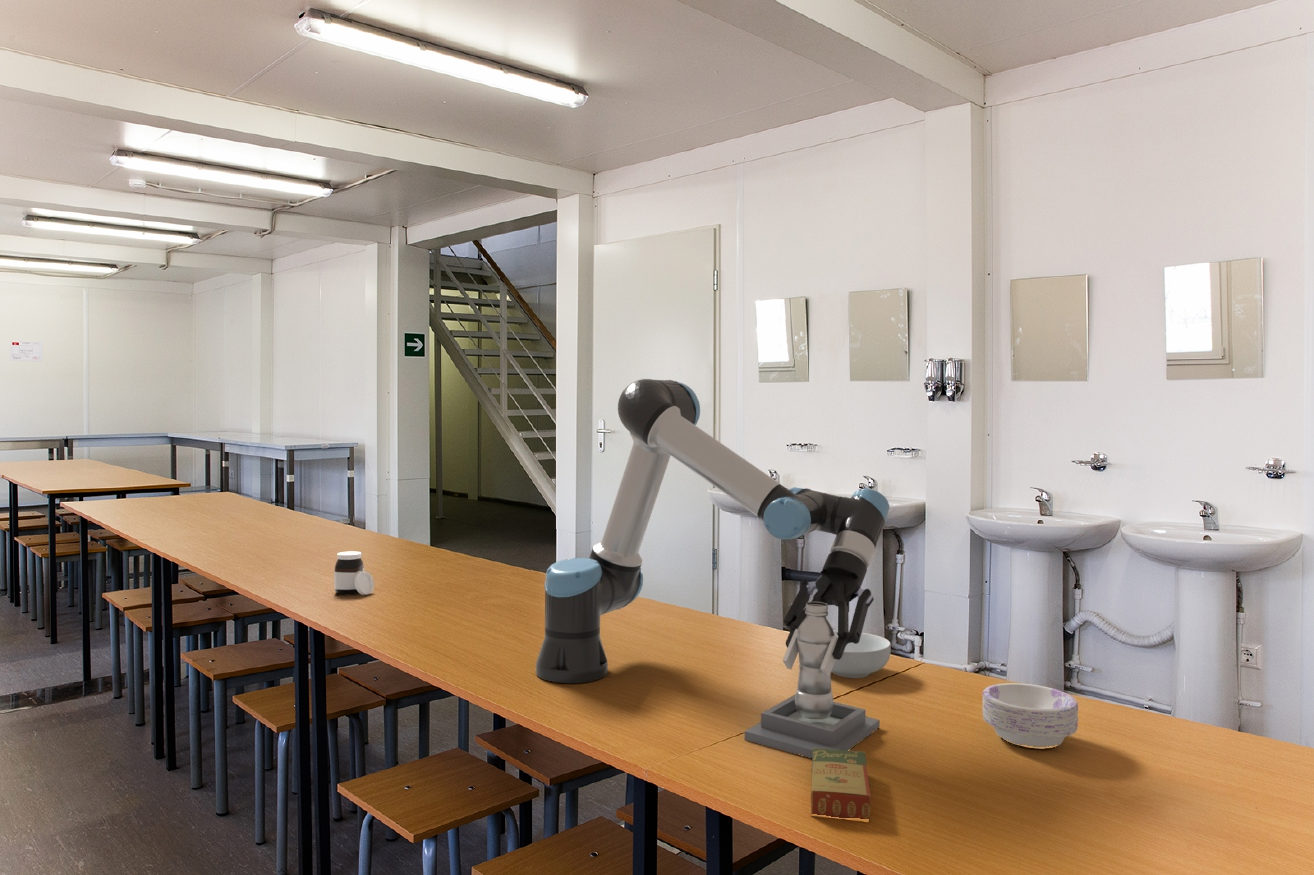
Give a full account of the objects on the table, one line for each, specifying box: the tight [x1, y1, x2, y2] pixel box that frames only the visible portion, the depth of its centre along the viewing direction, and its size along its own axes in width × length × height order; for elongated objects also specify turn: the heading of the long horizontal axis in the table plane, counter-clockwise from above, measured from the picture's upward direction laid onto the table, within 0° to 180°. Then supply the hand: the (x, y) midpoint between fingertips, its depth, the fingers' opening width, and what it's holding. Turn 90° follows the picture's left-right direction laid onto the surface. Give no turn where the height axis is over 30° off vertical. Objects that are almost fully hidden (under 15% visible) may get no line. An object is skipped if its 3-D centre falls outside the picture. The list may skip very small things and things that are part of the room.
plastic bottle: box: [794, 601, 835, 719], centre depth 149 cm, size 6×7×20 cm
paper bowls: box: [982, 682, 1079, 747], centre depth 149 cm, size 15×15×8 cm
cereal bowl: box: [831, 630, 892, 679], centre depth 185 cm, size 17×17×7 cm
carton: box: [810, 748, 872, 819], centre depth 126 cm, size 8×16×4 cm, turn 169°
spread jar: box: [333, 550, 375, 596], centre depth 254 cm, size 12×11×12 cm
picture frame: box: [744, 693, 881, 759], centre depth 150 cm, size 20×16×4 cm
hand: (805, 668), depth 147 cm, fingers closed on plastic bottle, 6 cm apart
